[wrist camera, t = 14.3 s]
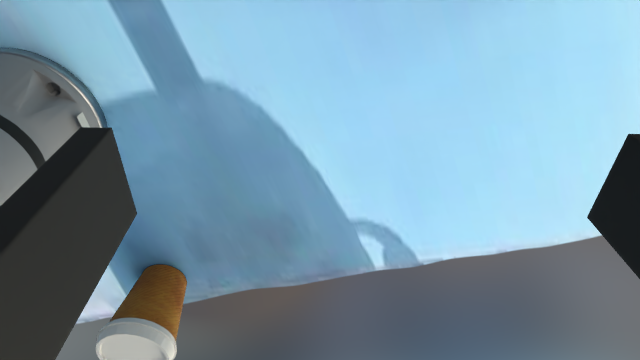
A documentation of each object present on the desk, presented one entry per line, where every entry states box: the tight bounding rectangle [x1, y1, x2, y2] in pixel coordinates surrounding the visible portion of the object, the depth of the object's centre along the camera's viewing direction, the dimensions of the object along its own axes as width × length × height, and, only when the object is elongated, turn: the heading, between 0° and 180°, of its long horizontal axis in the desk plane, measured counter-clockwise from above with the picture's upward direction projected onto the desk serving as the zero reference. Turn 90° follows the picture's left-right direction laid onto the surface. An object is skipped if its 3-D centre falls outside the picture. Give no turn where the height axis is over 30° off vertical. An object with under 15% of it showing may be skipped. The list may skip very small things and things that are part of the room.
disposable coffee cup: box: [96, 265, 187, 360], centre depth 54 cm, size 10×10×12 cm
